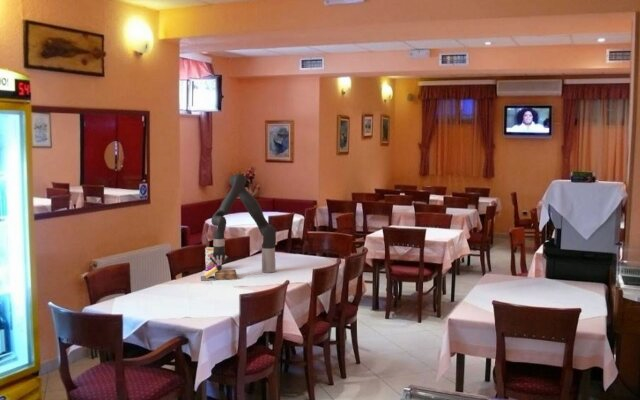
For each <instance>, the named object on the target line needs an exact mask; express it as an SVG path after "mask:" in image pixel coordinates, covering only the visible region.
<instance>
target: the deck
mask: <svg viewBox="0 0 640 400" xmlns="http://www.w3.org/2000/svg"><path fill="white" fill-rule="evenodd" d="M237 275H238V274H237V271H236V269H222V270H220V271H217V272H216V273H214V278H215V280H214V281H227V280H230V281H231V280H237V277H238V276H237Z"/></svg>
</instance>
